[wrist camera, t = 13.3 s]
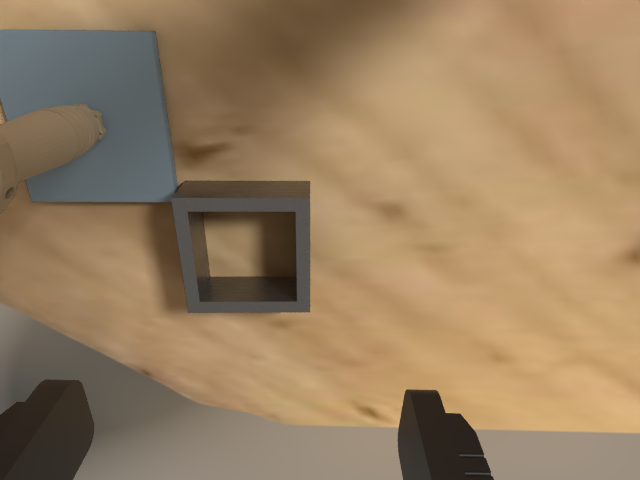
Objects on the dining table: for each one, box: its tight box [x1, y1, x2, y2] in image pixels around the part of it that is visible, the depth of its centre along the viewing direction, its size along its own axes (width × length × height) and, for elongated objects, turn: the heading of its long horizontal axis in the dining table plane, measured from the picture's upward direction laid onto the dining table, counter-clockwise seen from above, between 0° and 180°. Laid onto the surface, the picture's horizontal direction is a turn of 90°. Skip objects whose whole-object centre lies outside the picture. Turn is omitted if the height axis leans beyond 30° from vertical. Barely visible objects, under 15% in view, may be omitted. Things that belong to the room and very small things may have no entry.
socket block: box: [171, 181, 310, 313], centre depth 40 cm, size 11×11×4 cm
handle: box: [0, 104, 106, 213], centre depth 29 cm, size 5×6×15 cm
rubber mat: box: [0, 30, 178, 202], centre depth 36 cm, size 14×13×1 cm
